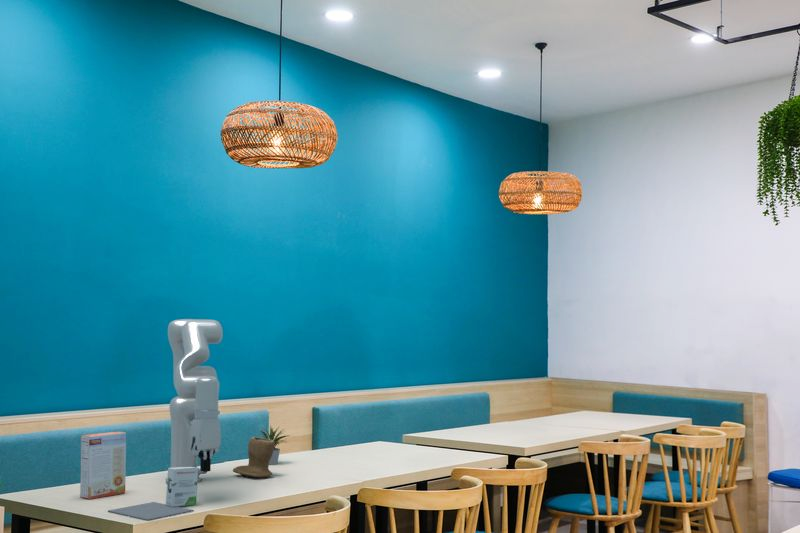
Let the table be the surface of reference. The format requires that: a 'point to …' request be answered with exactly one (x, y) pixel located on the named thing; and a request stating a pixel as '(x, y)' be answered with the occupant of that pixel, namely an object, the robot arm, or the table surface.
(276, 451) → the house plant
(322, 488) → the table surface
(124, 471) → the cracker box
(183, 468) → the ink box
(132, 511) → the mat
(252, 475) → the brown suede boot shape
